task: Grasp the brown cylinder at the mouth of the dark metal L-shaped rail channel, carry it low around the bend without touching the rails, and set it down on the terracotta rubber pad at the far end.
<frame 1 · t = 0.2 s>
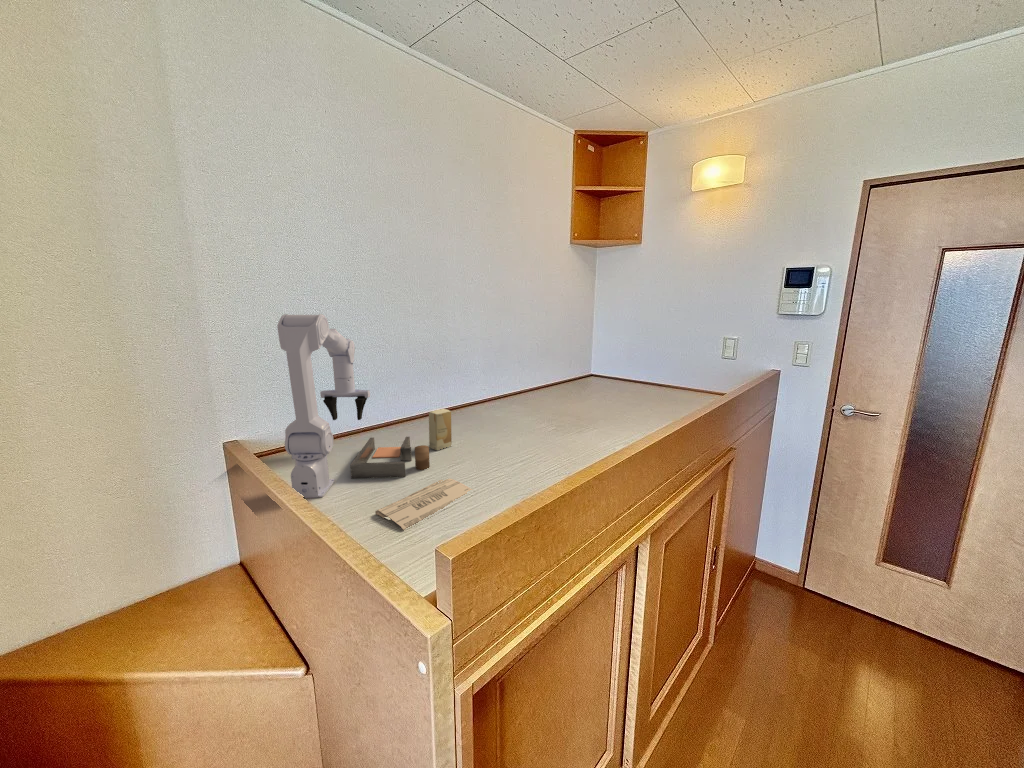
hand: (347, 419, 128), 10 cm above the table, tool pointing down, fingers open, 7 cm apart
rail channel: (386, 462, 120), on the table
brown cylinder: (422, 467, 117), on the table
newspaper: (424, 506, 97), on the table
skincare box: (440, 447, 133), on the table
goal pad: (388, 452, 128), on the table
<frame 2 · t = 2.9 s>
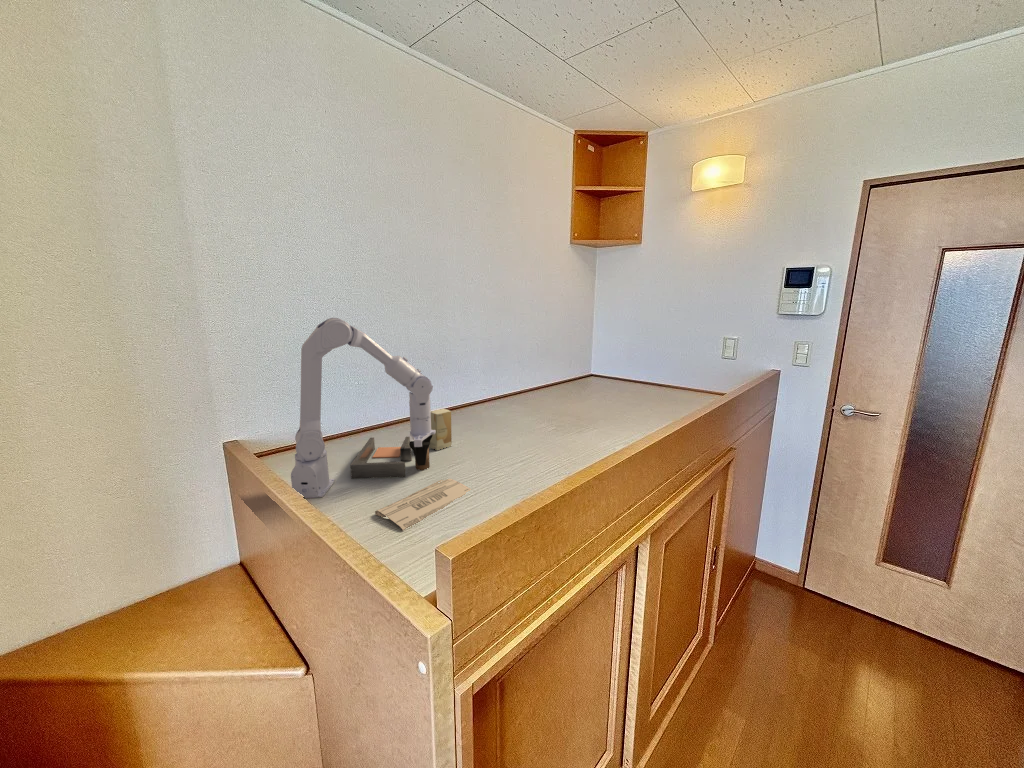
hand: (422, 461, 117), 2 cm above the table, tool pointing down, fingers closed on brown cylinder, 4 cm apart
brown cylinder: (422, 467, 117), on the table, touching gripper
everything else where it was.
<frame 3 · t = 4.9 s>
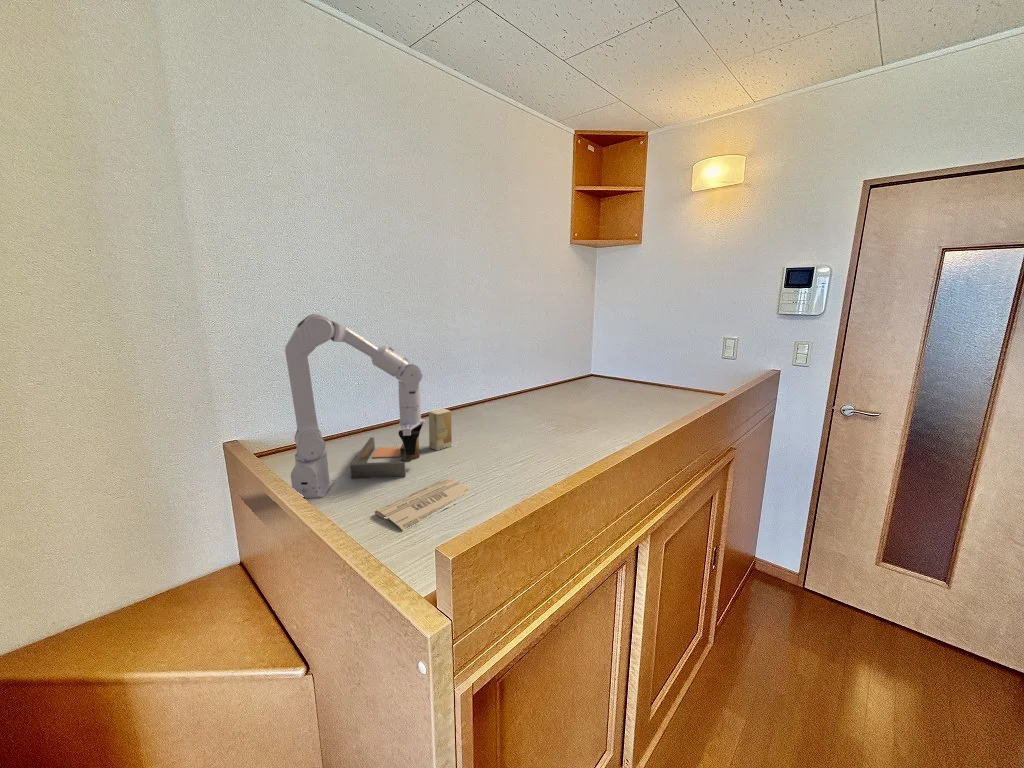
hand: (412, 451, 116), 5 cm above the table, tool pointing down, fingers closed on brown cylinder, 4 cm apart
brown cylinder: (412, 457, 116), point 3 cm above the table, touching gripper
everything else where it was.
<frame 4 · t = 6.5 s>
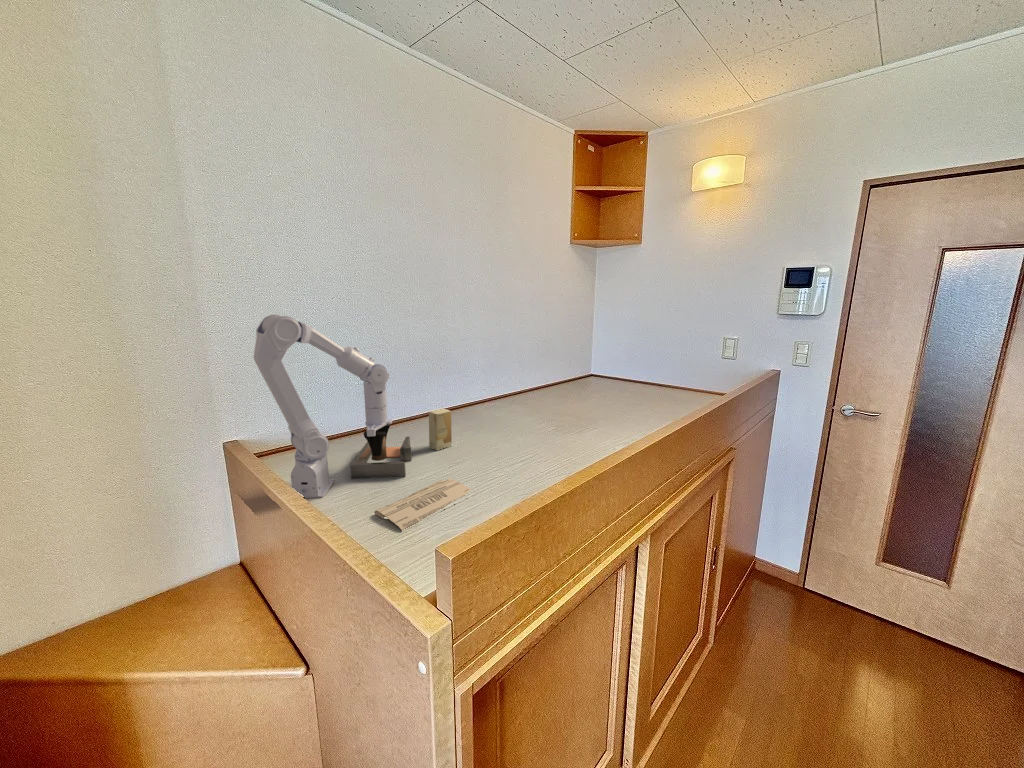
hand: (379, 452, 115), 5 cm above the table, tool pointing down, fingers closed on brown cylinder, 4 cm apart
brown cylinder: (379, 457, 115), point 3 cm above the table, touching gripper
everything else where it was.
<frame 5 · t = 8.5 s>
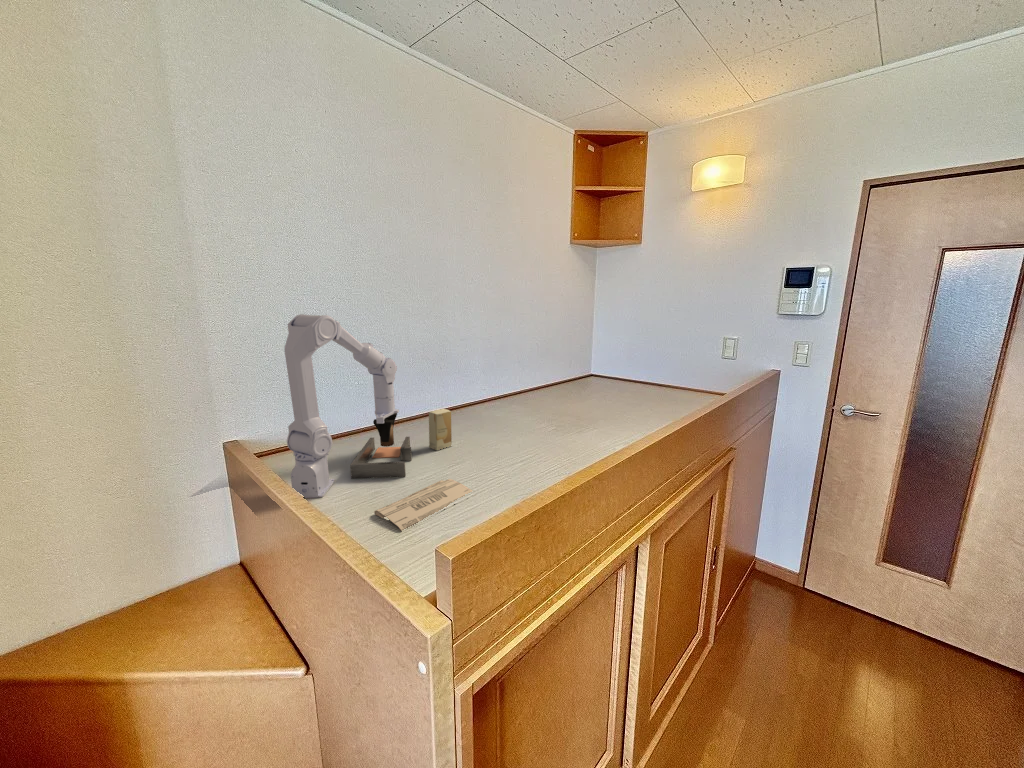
hand: (386, 439, 125), 5 cm above the table, tool pointing down, fingers closed on brown cylinder, 4 cm apart
brown cylinder: (387, 444, 126), point 3 cm above the table, touching gripper
everything else where it was.
when the fingers open (3 cm above the table, at t = 10.2 s): brown cylinder stays where it is, resting on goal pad.
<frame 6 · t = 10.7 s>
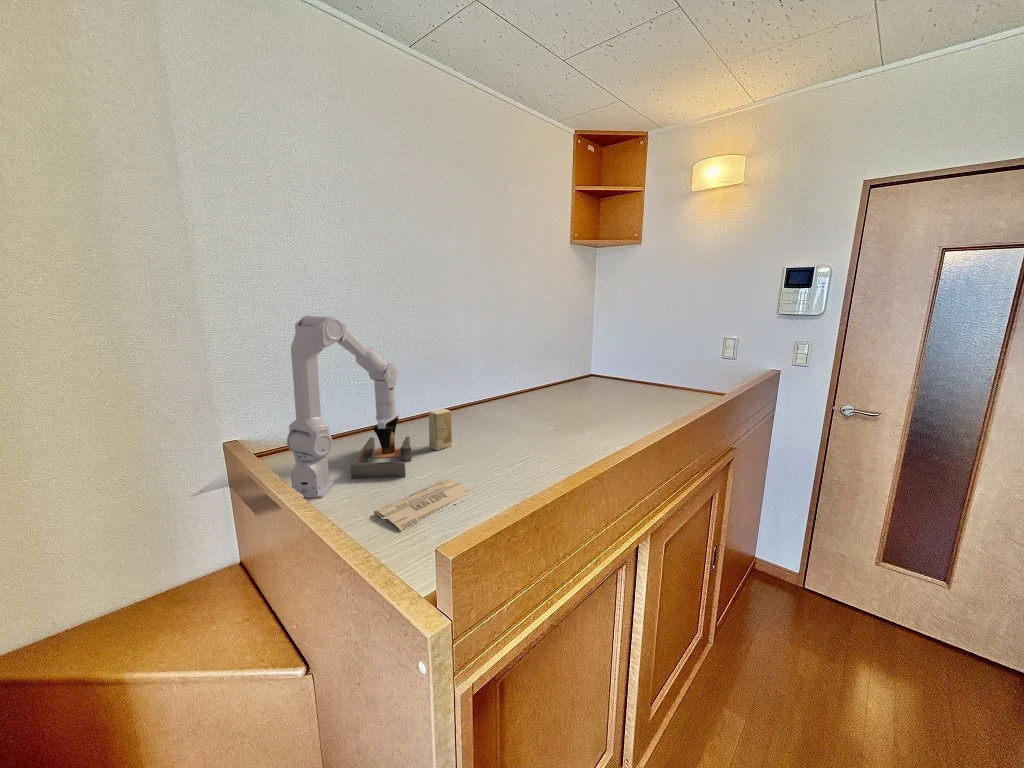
hand: (388, 443, 127), 3 cm above the table, tool pointing down, fingers open, 7 cm apart
brown cylinder: (388, 451, 128), resting on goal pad
everything else where it was.
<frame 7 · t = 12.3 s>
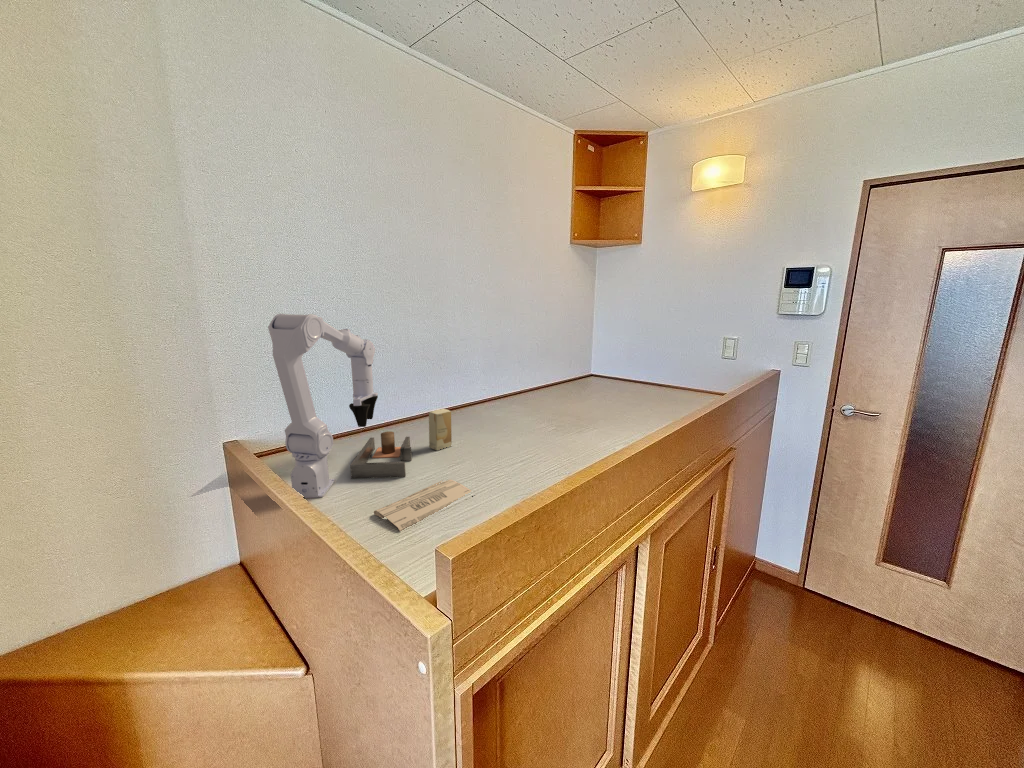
hand: (365, 422, 124), 10 cm above the table, tool pointing down, fingers open, 7 cm apart
nothing on the table moved.
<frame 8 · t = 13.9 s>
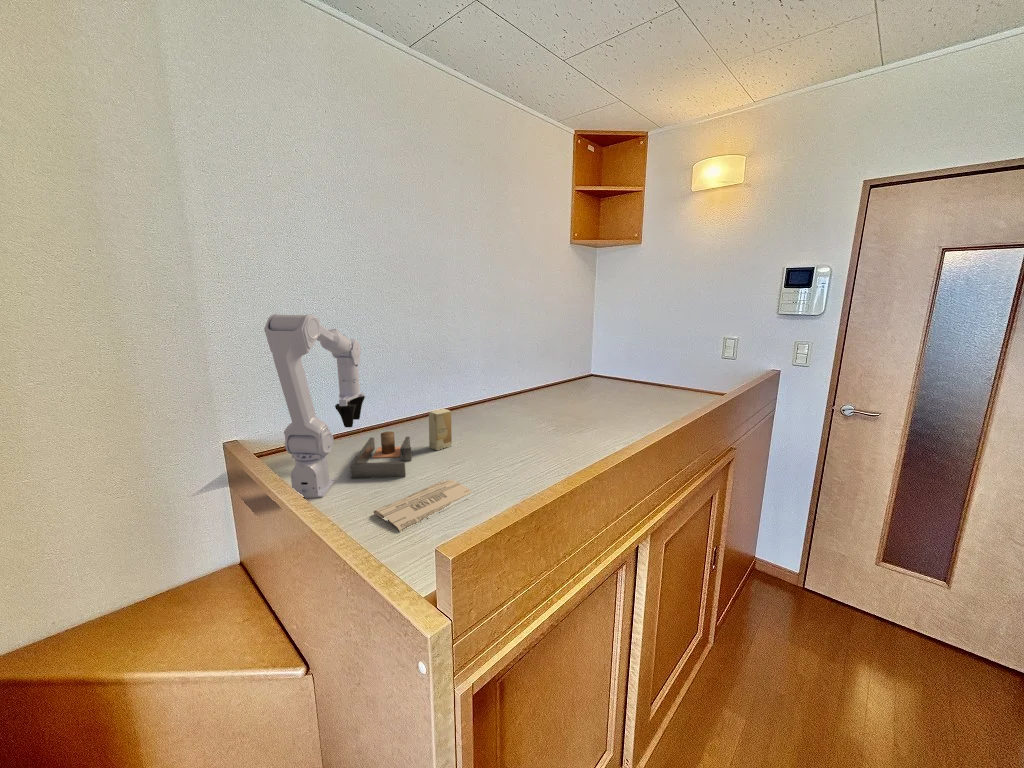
hand: (352, 423, 123), 10 cm above the table, tool pointing down, fingers open, 7 cm apart
nothing on the table moved.
at the end: brown cylinder 0.0 cm off-centre on the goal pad, point 0.4 cm above the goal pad's base; brown cylinder touching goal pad; brown cylinder tilted 0° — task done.
